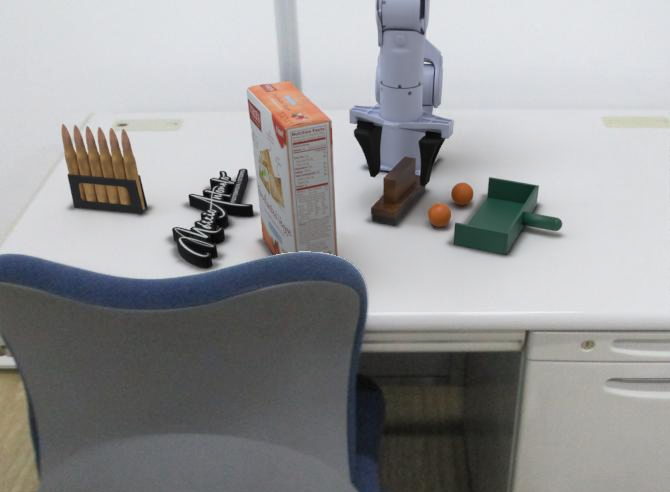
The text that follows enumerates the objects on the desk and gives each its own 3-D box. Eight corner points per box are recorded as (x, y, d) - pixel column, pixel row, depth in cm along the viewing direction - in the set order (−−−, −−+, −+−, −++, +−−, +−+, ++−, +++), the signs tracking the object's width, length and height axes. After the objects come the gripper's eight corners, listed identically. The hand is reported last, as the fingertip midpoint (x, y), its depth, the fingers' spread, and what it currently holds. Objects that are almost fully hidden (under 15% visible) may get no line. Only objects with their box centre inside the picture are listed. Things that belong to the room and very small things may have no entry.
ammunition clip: (148, 208, 120) (132, 127, 113) (142, 214, 119) (126, 132, 111) (79, 201, 122) (59, 121, 114) (73, 207, 121) (53, 126, 113)
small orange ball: (424, 228, 116) (425, 207, 114) (432, 218, 118) (433, 197, 116) (446, 232, 115) (447, 211, 113) (453, 222, 117) (455, 201, 115)
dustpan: (453, 244, 112) (454, 223, 110) (487, 196, 124) (489, 176, 122) (546, 262, 109) (549, 241, 107) (573, 211, 120) (576, 191, 118)
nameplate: (238, 257, 106) (159, 257, 106) (239, 268, 107) (161, 268, 107) (262, 168, 128) (197, 168, 128) (263, 178, 128) (198, 177, 129)
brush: (370, 222, 117) (370, 183, 114) (403, 186, 126) (404, 149, 123) (394, 226, 116) (395, 187, 113) (425, 190, 125) (427, 153, 122)
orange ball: (447, 206, 121) (448, 186, 119) (454, 197, 123) (456, 177, 121) (468, 210, 120) (470, 190, 118) (475, 201, 122) (477, 181, 120)
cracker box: (260, 241, 113) (243, 85, 100) (301, 233, 115) (291, 78, 101) (295, 291, 103) (282, 125, 90) (340, 281, 105) (334, 116, 92)
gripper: (338, 83, 109) (341, 181, 118) (443, 98, 105) (438, 199, 114) (360, 67, 114) (361, 162, 123) (461, 81, 110) (455, 178, 119)
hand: (399, 178), depth 119 cm, fingers open, 7 cm apart
